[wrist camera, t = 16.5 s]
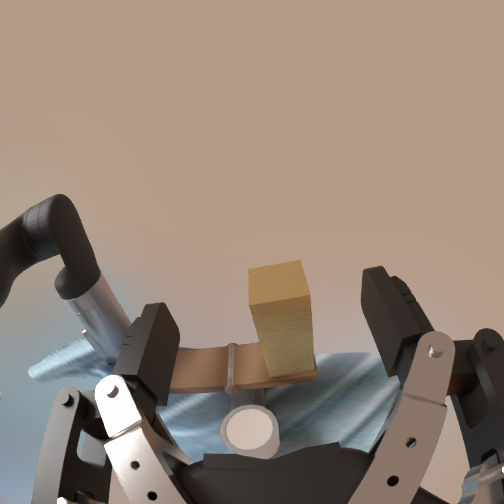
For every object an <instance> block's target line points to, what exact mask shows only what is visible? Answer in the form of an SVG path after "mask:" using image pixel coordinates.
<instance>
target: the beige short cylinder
mask: <svg viewBox="0 0 504 504" xmlns="http://www.w3.org/2000/svg"><path fill="white" fill-rule="evenodd" d="M220 433H221V438H222V440H223V442H224V444H225V446H226V447H228V448H229V449H230V450H232V451H233V452H235V453H237V454H239V455H244V456H249V457H255V458H261V459H269V458H271V457H273V456H274V455H275V453H276V452H277V451H278V448H279V445H280V440H279V429H278V422H277V419H276V417H275V416H274V415H273V413H272V412H271V411H270V410H268V409H266V408H265V407H263V406H258V405H253V404H251V405H244V406H240V407H238V408H236V409H234V410H232V411H231V412H230V413H229V414H228V415H227V416H226V417H225V418H224V420H223V422H222V424H221V427H220Z"/></svg>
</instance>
